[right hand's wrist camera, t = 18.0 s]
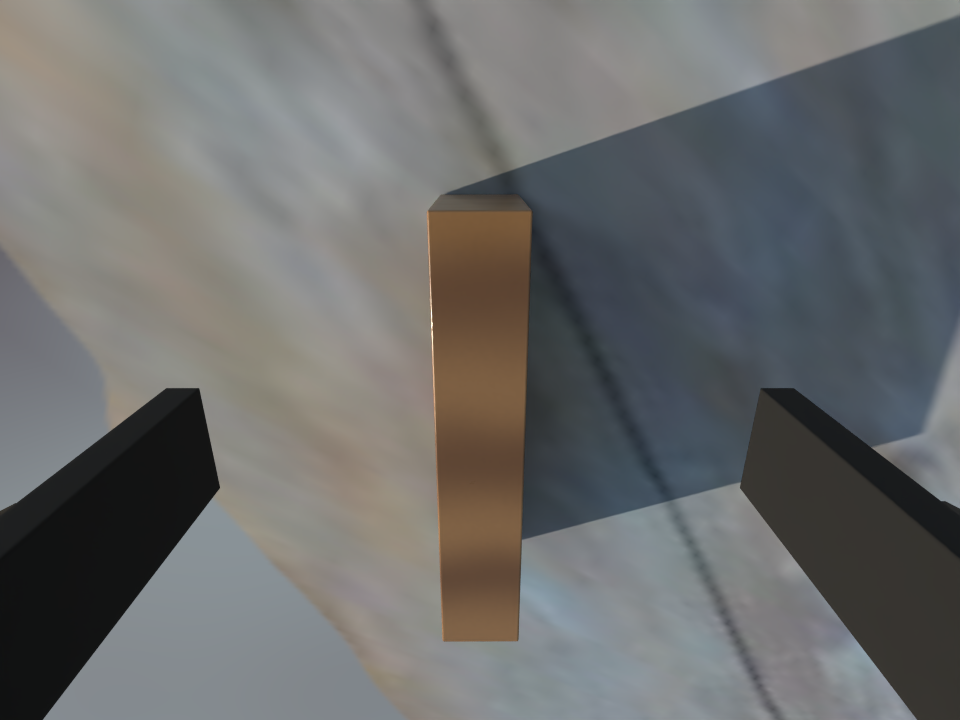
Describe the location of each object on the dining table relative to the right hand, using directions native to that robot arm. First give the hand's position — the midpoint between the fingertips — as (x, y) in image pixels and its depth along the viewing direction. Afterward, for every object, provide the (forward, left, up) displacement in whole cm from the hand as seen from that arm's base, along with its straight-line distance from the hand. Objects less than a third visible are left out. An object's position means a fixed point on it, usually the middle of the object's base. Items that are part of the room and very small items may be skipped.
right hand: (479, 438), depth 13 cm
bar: (+8, +5, -22) cm, 24 cm away
